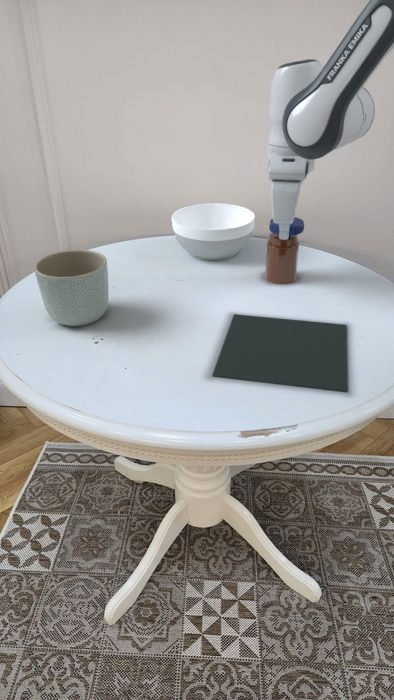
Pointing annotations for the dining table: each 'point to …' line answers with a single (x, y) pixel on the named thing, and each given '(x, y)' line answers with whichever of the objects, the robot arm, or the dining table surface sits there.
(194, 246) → the bowl
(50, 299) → the planter
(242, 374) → the mat
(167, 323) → the dining table surface
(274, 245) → the jam jar
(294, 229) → the jam lid
